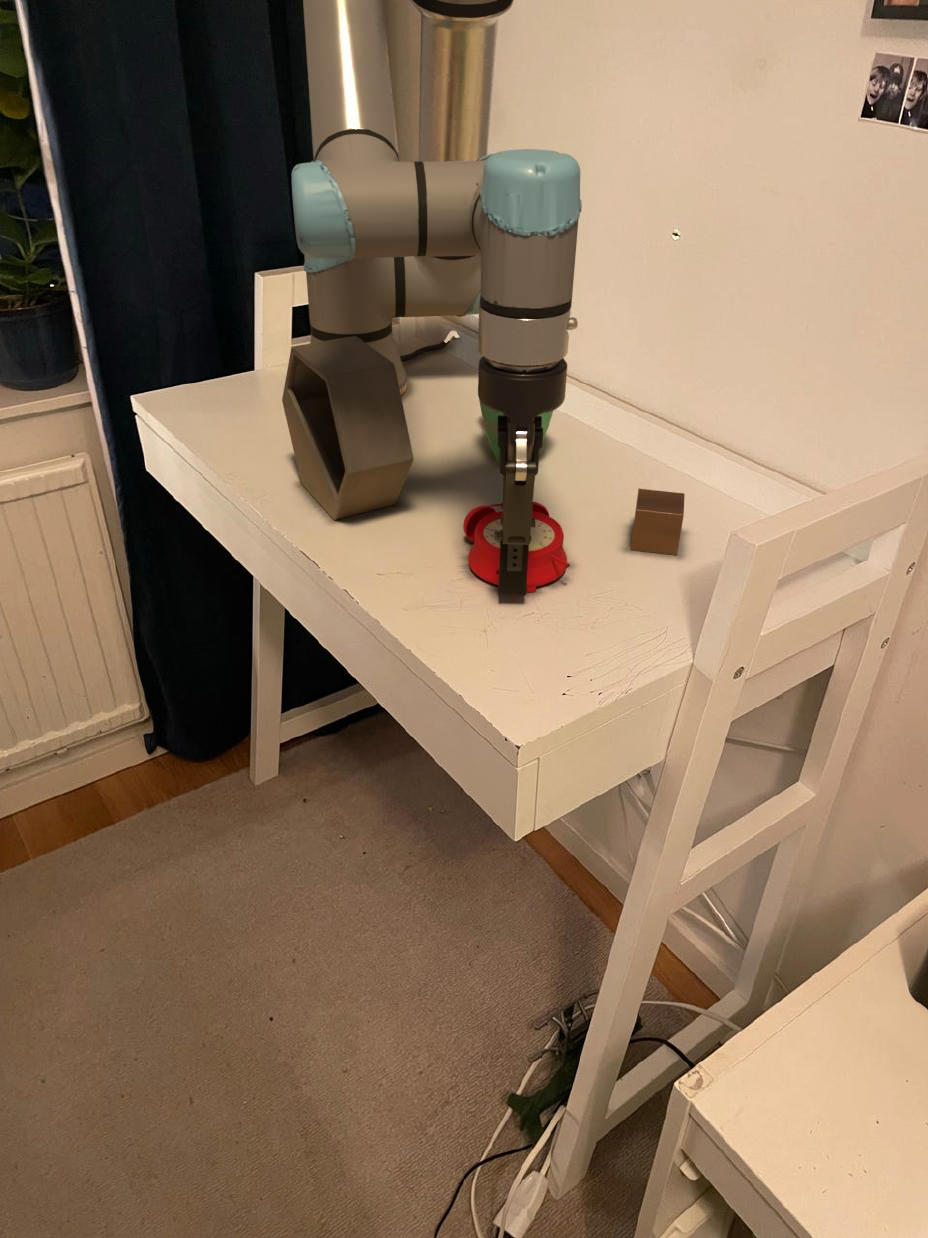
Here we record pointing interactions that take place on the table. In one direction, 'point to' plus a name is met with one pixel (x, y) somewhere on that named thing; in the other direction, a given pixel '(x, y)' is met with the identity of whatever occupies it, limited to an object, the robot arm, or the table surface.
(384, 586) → the table surface
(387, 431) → the hexagonal wooden shelf
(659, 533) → the walnut block
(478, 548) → the alarm clock
